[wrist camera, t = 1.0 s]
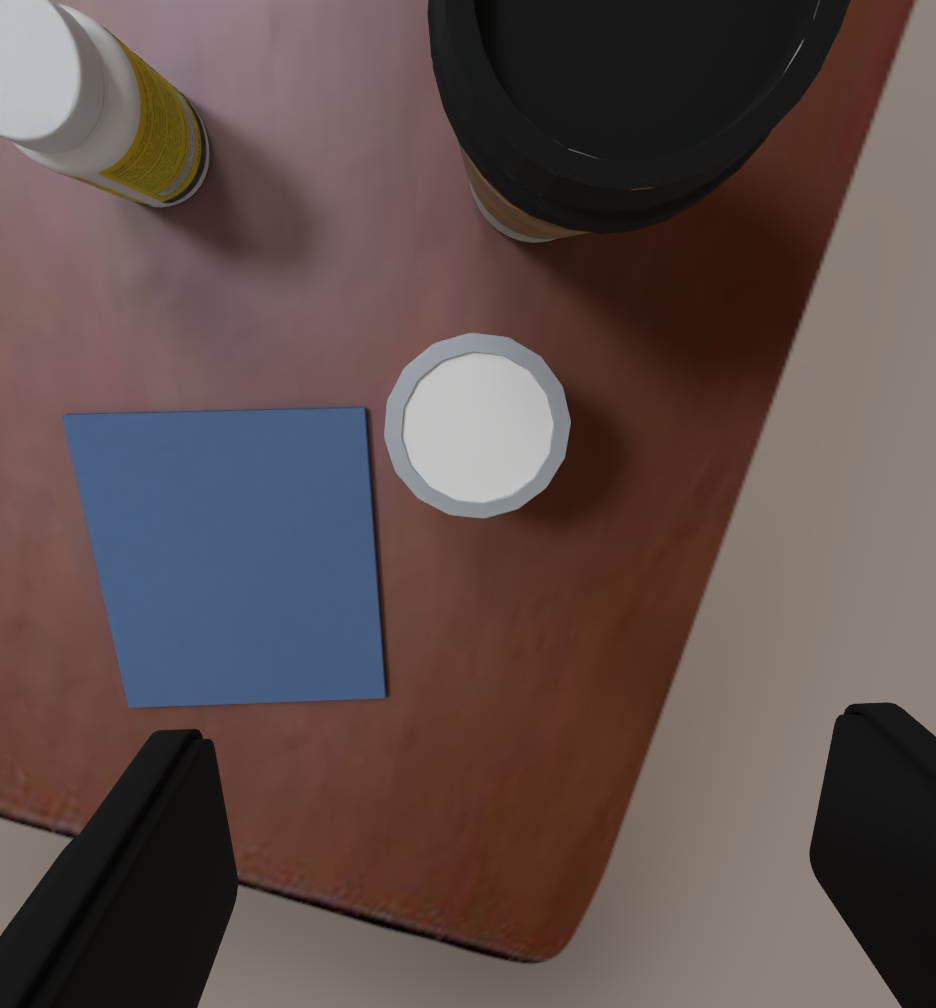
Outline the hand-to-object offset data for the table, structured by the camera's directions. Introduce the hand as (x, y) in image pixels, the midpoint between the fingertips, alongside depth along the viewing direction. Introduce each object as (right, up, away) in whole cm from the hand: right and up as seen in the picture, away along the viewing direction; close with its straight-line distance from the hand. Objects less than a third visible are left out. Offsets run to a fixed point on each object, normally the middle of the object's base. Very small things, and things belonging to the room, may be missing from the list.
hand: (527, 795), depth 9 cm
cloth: (-13, +1, +21) cm, 25 cm away
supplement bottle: (-14, +19, +16) cm, 29 cm away
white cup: (-1, +9, +19) cm, 21 cm away
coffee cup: (+2, +19, +16) cm, 25 cm away
